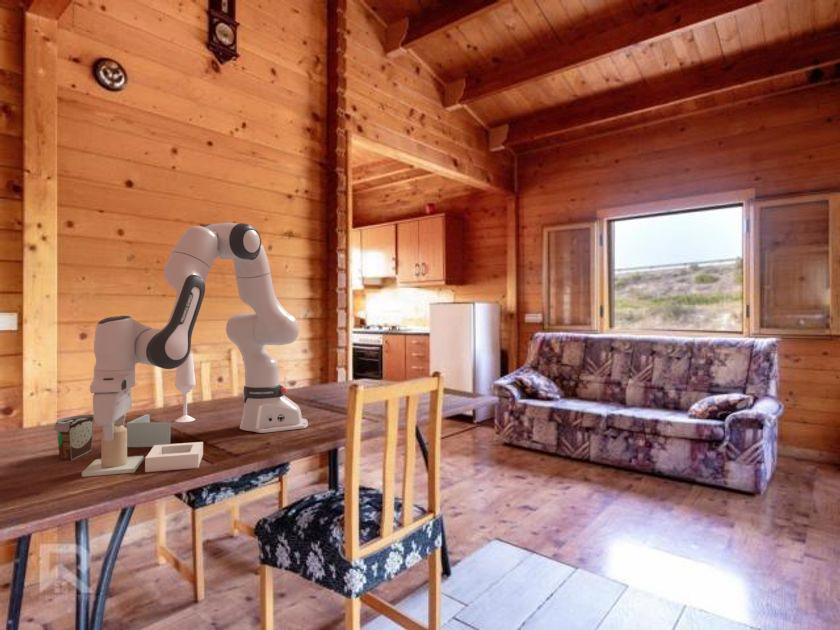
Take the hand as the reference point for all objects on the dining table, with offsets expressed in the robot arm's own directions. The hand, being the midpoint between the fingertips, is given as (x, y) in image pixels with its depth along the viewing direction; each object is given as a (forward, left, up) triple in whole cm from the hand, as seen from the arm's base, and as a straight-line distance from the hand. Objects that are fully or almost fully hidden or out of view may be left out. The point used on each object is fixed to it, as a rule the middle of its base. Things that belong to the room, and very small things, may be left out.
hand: (114, 435), depth 125 cm
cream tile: (0, 0, -8) cm, 8 cm away
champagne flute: (-10, -53, -8) cm, 55 cm away
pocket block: (-14, 0, -8) cm, 16 cm away
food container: (+14, -15, -8) cm, 22 cm away
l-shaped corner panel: (-6, -24, -9) cm, 27 cm away
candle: (0, +1, -7) cm, 7 cm away
